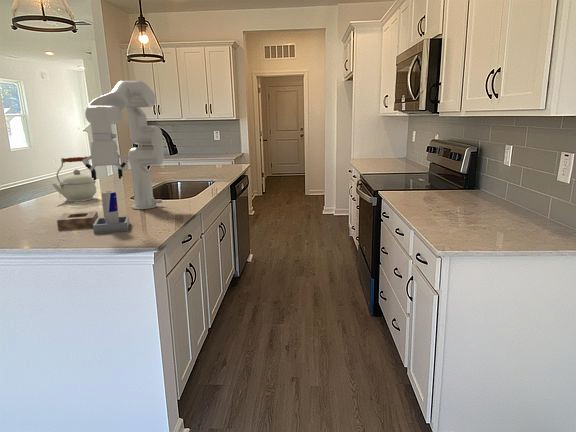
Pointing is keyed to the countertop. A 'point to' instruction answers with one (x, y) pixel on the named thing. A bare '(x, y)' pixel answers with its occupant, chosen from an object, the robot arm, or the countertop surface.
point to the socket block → (77, 220)
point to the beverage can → (110, 207)
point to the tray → (111, 225)
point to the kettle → (76, 184)
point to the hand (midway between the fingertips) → (107, 179)
